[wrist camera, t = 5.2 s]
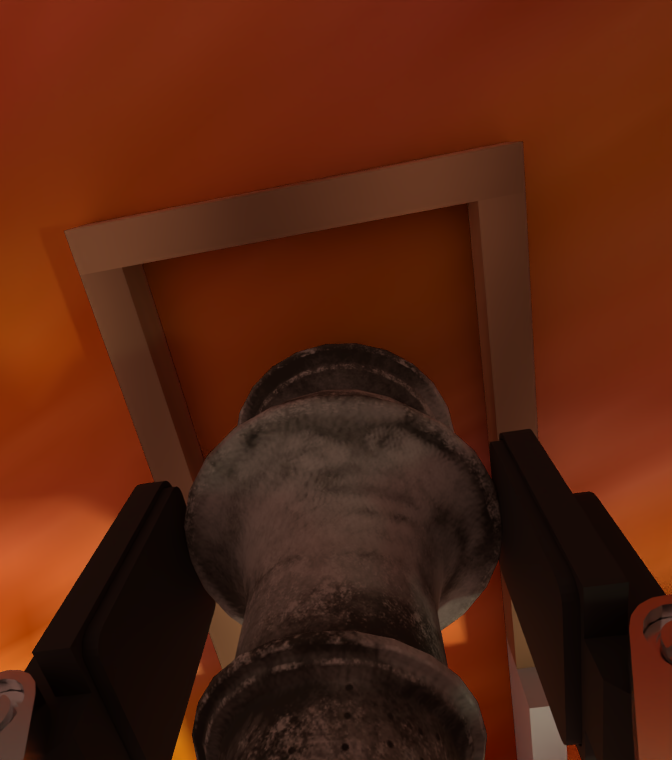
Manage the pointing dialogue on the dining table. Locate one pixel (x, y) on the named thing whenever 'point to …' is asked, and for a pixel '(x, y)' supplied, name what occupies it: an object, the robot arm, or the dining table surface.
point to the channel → (298, 216)
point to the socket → (533, 717)
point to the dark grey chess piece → (342, 564)
